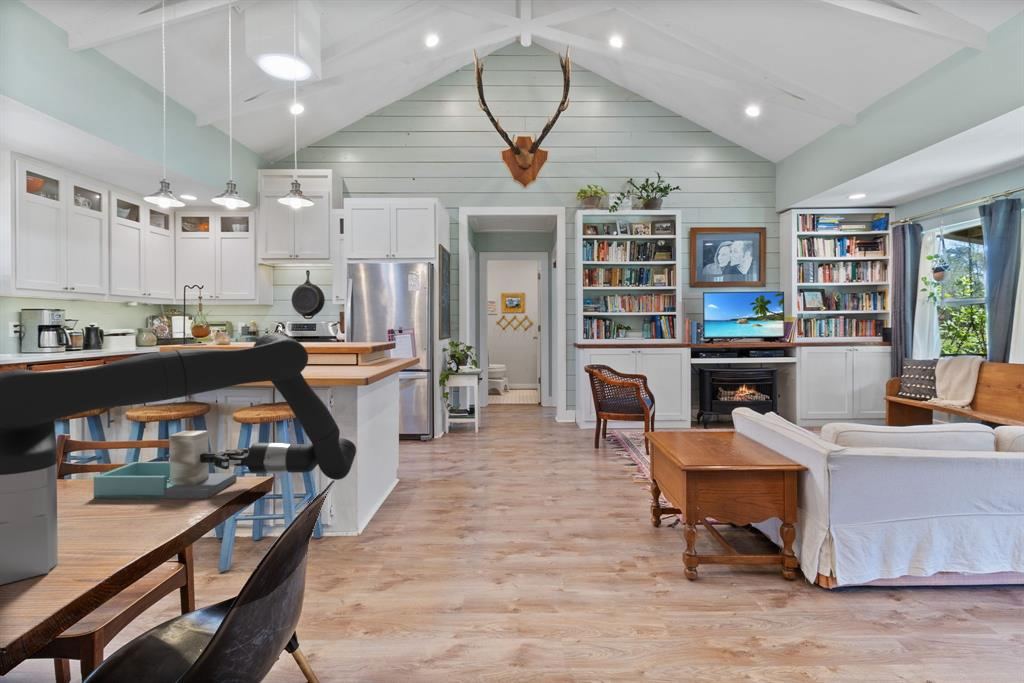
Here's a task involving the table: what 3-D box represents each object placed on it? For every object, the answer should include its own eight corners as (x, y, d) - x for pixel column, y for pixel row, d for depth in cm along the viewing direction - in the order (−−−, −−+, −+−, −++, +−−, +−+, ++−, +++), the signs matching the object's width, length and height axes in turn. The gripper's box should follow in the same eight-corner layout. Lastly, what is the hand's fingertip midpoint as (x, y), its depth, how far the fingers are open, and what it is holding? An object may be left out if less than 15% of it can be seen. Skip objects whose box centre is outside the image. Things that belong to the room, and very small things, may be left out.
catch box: (197, 480, 136) (197, 462, 135) (163, 498, 122) (163, 477, 122) (134, 480, 135) (134, 461, 135) (93, 498, 121) (93, 477, 121)
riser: (236, 480, 136) (236, 473, 136) (207, 498, 122) (207, 489, 122) (197, 480, 136) (197, 473, 136) (163, 498, 122) (163, 489, 122)
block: (208, 477, 132) (208, 430, 131) (195, 484, 126) (194, 435, 125) (184, 477, 132) (184, 430, 131) (170, 484, 126) (169, 435, 125)
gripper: (283, 437, 136) (216, 437, 135) (260, 449, 123) (186, 448, 122) (283, 466, 136) (216, 465, 135) (260, 480, 123) (185, 480, 122)
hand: (201, 457), depth 129 cm, fingers closed
